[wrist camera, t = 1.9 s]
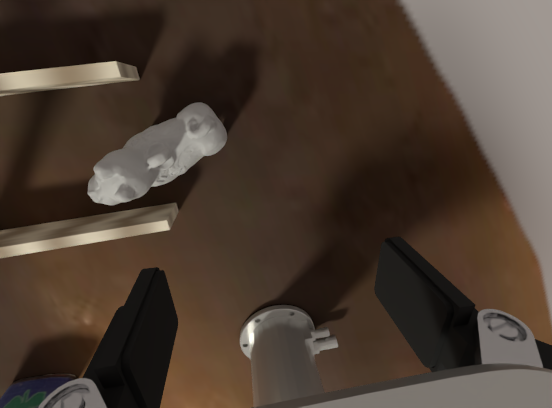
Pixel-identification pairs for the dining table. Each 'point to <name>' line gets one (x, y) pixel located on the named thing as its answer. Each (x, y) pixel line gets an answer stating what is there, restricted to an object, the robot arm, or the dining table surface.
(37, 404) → the flask
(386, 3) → the dining table surface
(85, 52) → the dining table surface
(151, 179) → the dog figurine
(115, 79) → the channel
